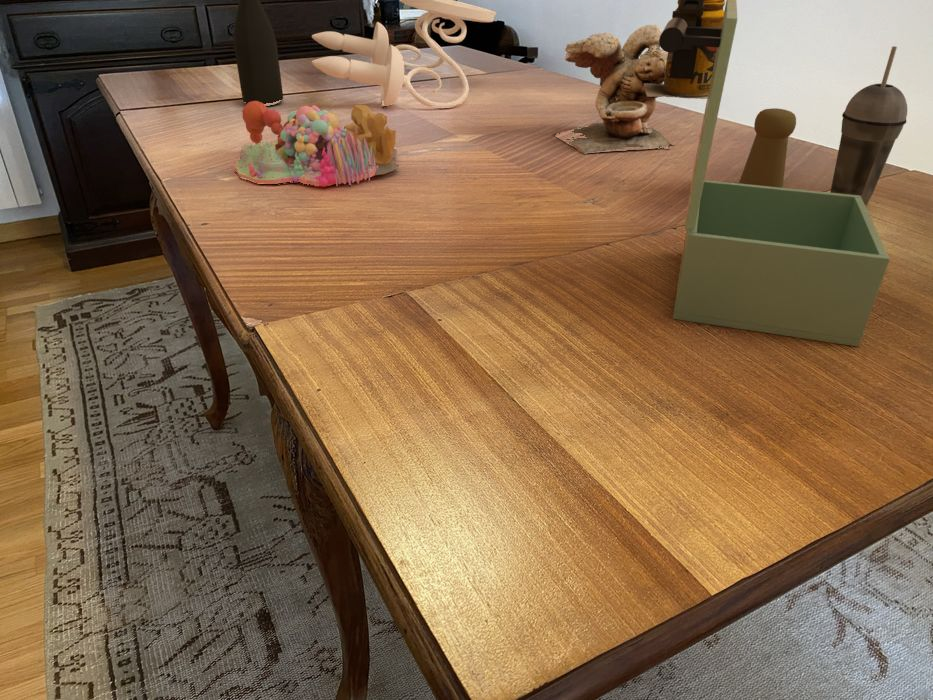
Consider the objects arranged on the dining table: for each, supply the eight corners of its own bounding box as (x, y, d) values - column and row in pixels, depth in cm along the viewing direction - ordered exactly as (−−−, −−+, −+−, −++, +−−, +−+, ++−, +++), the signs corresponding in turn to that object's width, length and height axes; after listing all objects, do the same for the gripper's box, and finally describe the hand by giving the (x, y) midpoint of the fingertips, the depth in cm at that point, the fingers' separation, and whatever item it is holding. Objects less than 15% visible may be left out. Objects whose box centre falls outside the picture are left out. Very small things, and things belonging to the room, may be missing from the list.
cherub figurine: (586, 157, 112) (598, 36, 103) (541, 129, 127) (548, 20, 117) (682, 147, 117) (702, 31, 108) (628, 121, 132) (641, 16, 122)
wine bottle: (250, 98, 146) (225, -70, 130) (288, 99, 146) (267, -70, 130) (238, 107, 139) (209, -69, 123) (277, 108, 139) (254, -69, 123)
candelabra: (476, 0, 169) (318, -36, 159) (522, 27, 132) (319, -17, 122) (458, 86, 179) (309, 58, 169) (497, 135, 142) (308, 102, 132)
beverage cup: (881, 203, 95) (933, 44, 85) (872, 219, 90) (927, 52, 80) (823, 193, 99) (867, 38, 88) (812, 208, 94) (857, 46, 83)
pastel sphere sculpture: (376, 137, 121) (373, 81, 116) (422, 178, 103) (420, 114, 98) (226, 153, 113) (216, 93, 108) (247, 201, 95) (235, 131, 90)
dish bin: (836, 272, 77) (860, 195, 72) (858, 347, 64) (890, 258, 59) (682, 252, 81) (695, 178, 77) (672, 319, 68) (688, 234, 63)
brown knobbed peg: (728, 189, 100) (745, 109, 94) (750, 180, 103) (768, 102, 98) (768, 200, 96) (788, 117, 90) (790, 190, 100) (810, 110, 94)
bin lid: (736, -3, 67) (673, -6, 68) (737, 18, 54) (659, 13, 55) (700, 175, 76) (645, 168, 78) (694, 230, 63) (628, 221, 64)
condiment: (719, 100, 85) (739, -12, 78) (647, 98, 86) (660, -13, 79) (710, 88, 91) (728, -17, 84) (643, 86, 92) (656, -18, 86)
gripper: (685, -150, 83) (658, 58, 96) (675, -165, 68) (644, 86, 80) (752, -152, 82) (715, 61, 94) (757, -168, 66) (712, 90, 78)
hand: (682, 72), depth 87 cm, fingers closed on condiment, 6 cm apart
